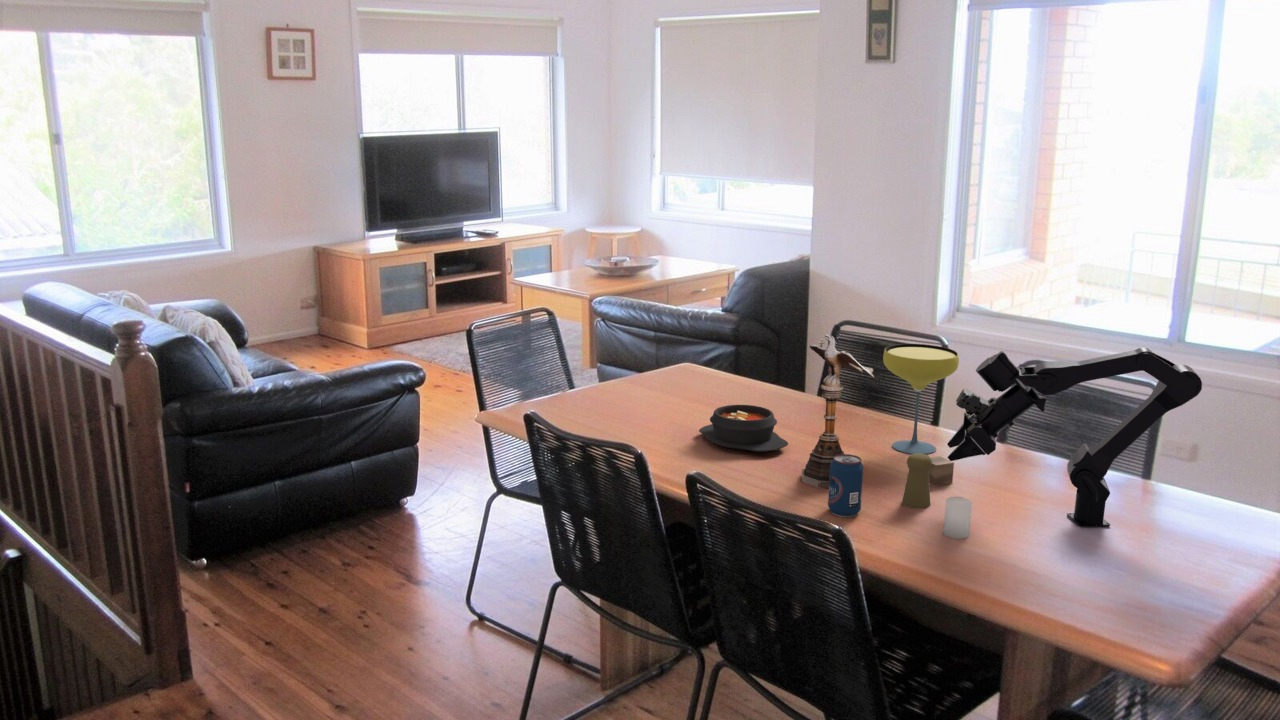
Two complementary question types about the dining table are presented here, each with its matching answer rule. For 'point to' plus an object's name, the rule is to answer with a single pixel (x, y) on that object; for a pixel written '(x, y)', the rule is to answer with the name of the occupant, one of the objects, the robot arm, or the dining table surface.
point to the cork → (917, 481)
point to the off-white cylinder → (957, 517)
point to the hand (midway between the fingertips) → (948, 452)
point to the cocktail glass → (919, 378)
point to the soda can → (845, 485)
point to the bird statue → (829, 413)
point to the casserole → (744, 428)
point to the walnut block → (941, 471)
